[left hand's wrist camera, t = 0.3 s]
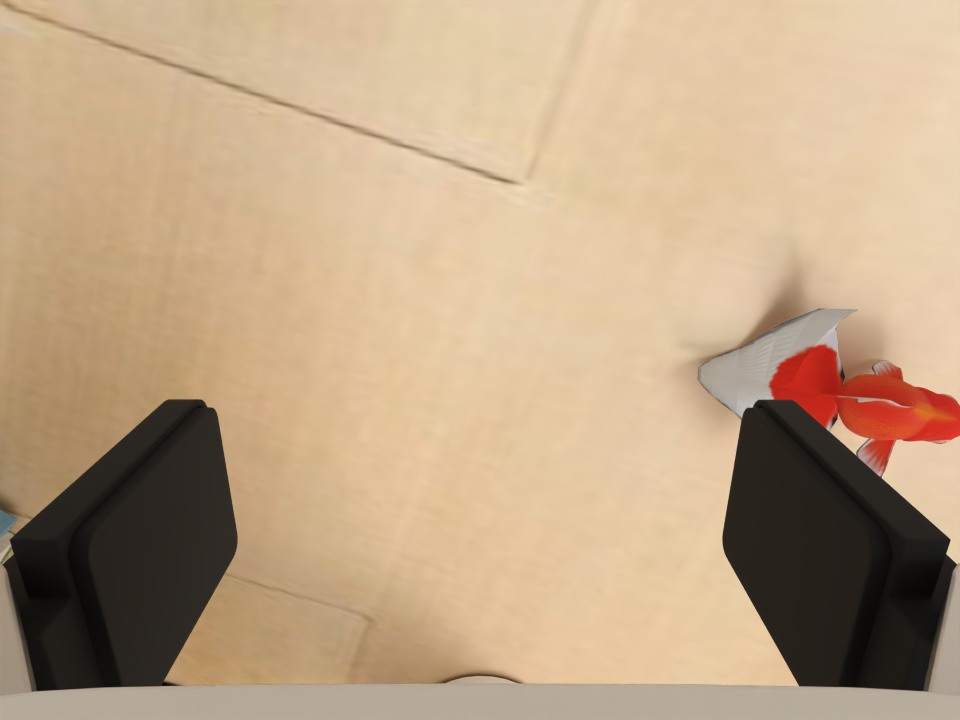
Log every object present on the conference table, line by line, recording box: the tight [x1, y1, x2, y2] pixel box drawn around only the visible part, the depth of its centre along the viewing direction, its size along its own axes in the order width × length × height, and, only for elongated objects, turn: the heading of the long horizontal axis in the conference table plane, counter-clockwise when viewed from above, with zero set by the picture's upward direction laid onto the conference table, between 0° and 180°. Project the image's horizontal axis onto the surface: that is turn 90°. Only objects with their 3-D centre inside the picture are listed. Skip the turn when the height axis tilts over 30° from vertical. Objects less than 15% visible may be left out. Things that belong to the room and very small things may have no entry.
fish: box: [698, 309, 960, 477], centre depth 40 cm, size 11×16×10 cm
